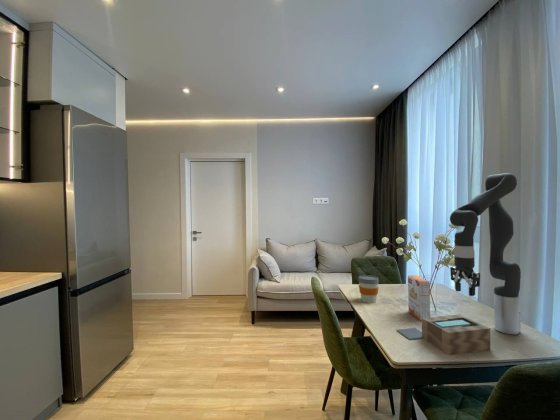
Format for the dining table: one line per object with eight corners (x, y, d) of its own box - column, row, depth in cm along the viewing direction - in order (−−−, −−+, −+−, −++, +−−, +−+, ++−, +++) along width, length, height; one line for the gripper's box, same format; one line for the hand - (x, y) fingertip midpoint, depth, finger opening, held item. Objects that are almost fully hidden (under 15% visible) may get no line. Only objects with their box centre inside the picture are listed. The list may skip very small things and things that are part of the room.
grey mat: (415, 328, 141) (415, 327, 141) (429, 337, 131) (429, 336, 131) (396, 330, 139) (396, 329, 139) (409, 340, 129) (409, 338, 129)
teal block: (462, 328, 129) (462, 319, 129) (470, 332, 124) (470, 323, 124) (434, 331, 126) (434, 322, 126) (442, 336, 122) (442, 326, 122)
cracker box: (407, 311, 165) (407, 275, 165) (418, 311, 165) (417, 274, 165) (419, 320, 151) (418, 281, 151) (430, 320, 151) (430, 281, 151)
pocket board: (459, 333, 135) (459, 314, 135) (490, 349, 119) (490, 328, 119) (421, 337, 131) (421, 318, 131) (448, 355, 116) (448, 332, 116)
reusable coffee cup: (380, 304, 178) (380, 280, 178) (359, 303, 180) (359, 279, 180) (377, 297, 190) (376, 275, 190) (357, 297, 192) (357, 274, 192)
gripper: (485, 258, 120) (486, 297, 120) (458, 253, 134) (459, 288, 134) (470, 259, 119) (471, 298, 119) (444, 253, 133) (445, 289, 133)
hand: (464, 293), depth 126 cm, fingers open, 7 cm apart
